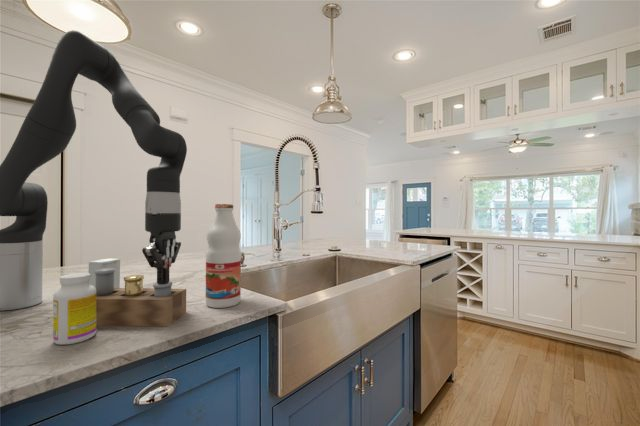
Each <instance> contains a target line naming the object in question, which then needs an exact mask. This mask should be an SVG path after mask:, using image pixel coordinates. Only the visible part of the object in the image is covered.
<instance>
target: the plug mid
mask: <svg viewBox="0 0 640 426" xmlns="http://www.w3.org/2000/svg"><path fill="white" fill-rule="evenodd" d="M144 278H145V276H144V275H143V274H132V275H126V276H124V277H123V281H124V288H125V296H139V295H141V294H143V287H144Z"/></svg>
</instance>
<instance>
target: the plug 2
mask: <svg viewBox="0 0 640 426" xmlns="http://www.w3.org/2000/svg"><path fill="white" fill-rule="evenodd" d="M172 286H173V281H170V280H169V282H168V283H166V284H157V282H154V283H153V284H152V288H154V297H167V296H169V295H171V289H172Z"/></svg>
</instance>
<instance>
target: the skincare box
mask: <svg viewBox="0 0 640 426" xmlns="http://www.w3.org/2000/svg"><path fill="white" fill-rule="evenodd" d="M105 268H115V272H114V288H121V287H120V284H121V283H120V280H121V277H120V276H121V259H120V258H111V257H110V258H103V259H96V260H93V261H88V273H89V274H90V281H89V285H92V286H94V287H95V288H96V274H95V270H98V269H105Z"/></svg>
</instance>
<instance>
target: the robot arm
mask: <svg viewBox="0 0 640 426" xmlns="http://www.w3.org/2000/svg"><path fill="white" fill-rule="evenodd" d="M46 71H47V72H46V74H45V77H44V80H43V82H42V85H41V87H40V89H39V91H38V94H37V95H36V98H35V99H34V101H33V104H32V105H31V107H30V109H29V111H28V112H27V114H26V115H25V118H24V120H23V123H22V124H21V126H20V129H19V131H18V133H17V135H16V137H15V139H14V142H13V143H12V145H11V147H10V148H9V151H8V153H7V154H6V156H5V158H4V159H3V161H2V162H1V163H0V217H15V220H14V222H13V223H12V224H10V225H9V226H6V227H4V228H1V229H0V311H13V310H18V309H19V310H20V309H25V308H30V307H33V306H36V305H38V304H40V303H43V276H44V275H43V272H44V271H43V269H44V268H43V265H44V264H43V260H44V259H43V248H44V247H43V246H44V245H43V242H44V241H43V237H44V236H43V235H44V233H45V232H46V228H47V219H48V218H47V217H48V216H47V215H48V205H49V204H48V195H47V192H46V190H45V188H44V187H43V186H42V185H40V184H38V183H35V182H34V183H33V182H26V181H27V180H28V178H29V177H30V176H31V174H32V173H34V171H36V170H37V169H39V168H40V167H42V166H43V165H45V164H46V163H48V162H50V161H51V160H53V159H55V158H56V157H58V156H60V154H61V153H63V152H64V151H65V150H66V149H67V147H68V145H69V144H70V142H71V139H72V138H73V136H74V134H75V132H76V129H77V118H76V113H75V110H74V109H75V108H74V105H73V101H72V93H73V92H72V91H73V88H74V85H75V81H76V79H77V77H79V76H78V75H80V76H83V78H86V79H88V80H90V81H93V82H97V83H98V84H99V85H100V86H102V87H103V88H105V90H106V91H108V92H109V93H110V94H111V103H112V105H113V107H114V109H115V112H116V113H117V114H118V115H119V116H120V117H121V119H122V120H123V121H124V122H125V124H127V125H128V127H130V130H131V133H132V135H133V137H134V140H135V141H136V144H137V145H138V147H140V149H141V150H143V151H144V152H145V153H146V154H148V155H150V156H153V157H158V158H160V161H159V164H158V166H154V167H151V168H149V169H148V170H147V172H146V196H145V206H144V210H145V211H144V213H145V214H144V215H145V216H144V218H145V221H144V230H145V231H146V233H147V232H148V233H149V234H150V236H149V239H148V240H149V241H148V242H149V245H148V246H147V247H142V249H141V251H142V254H143V256H144V258H145V259H146V261H147V263H148V265H149V267H150V268H154V269H156V283H157V284H166V283H168V282H169V281H170V268H171V266H172V264H174V263H175V262H176V260H177V257H178V254H179V252H180V249H181V246H182V242H181V241H177V240H176V238H177V235H176V232H179V231H181V229H182V228H181V226H182V202H181V201H182V200H181V194H180V193H181V180H180V179H181V178H180V177H181V174H182V171H183V168H184V164H185V161H186V157H187V153H188V149H187V142H186V139H185V137H184V136H183V135H182V134H181V133H179V132H177V131H174V130H171V129H169V128H166V127H164V126H162V125H161V119H160V115H158V113H157V111H156V110H154V107H152V106H151V104H150V103H148V101H147V100H146V99H145V98H144V97H143V96H142V95H141V94H140V92H139V91H138V90H137V89H136V88H135V87H134V85H133V83H132V82H131V80H130V79H129V78H128V76H127V74H126V73H125V71H124V69H123V68H122V67H121V64H120V62H119V61H118V60H117V57H116V56H114V54H113V53H112V52H111V51H110V50H109V49H108V48H106V46H104V45H102V44H100V43H98V42H97V41H95V40H93V39H92V38H90V37H89V36H87V35H86V34H85V33H83V32H81V31H78V30H73V29H72V30H68V31H67V32H65V33H64V34H63V35H62V36H61V37H60V39H59V40H58V42H57V45H56V47H55V48H54V52H53V53H52V56H51V60H50V63H49V66H48V69H47V70H46Z"/></svg>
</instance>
